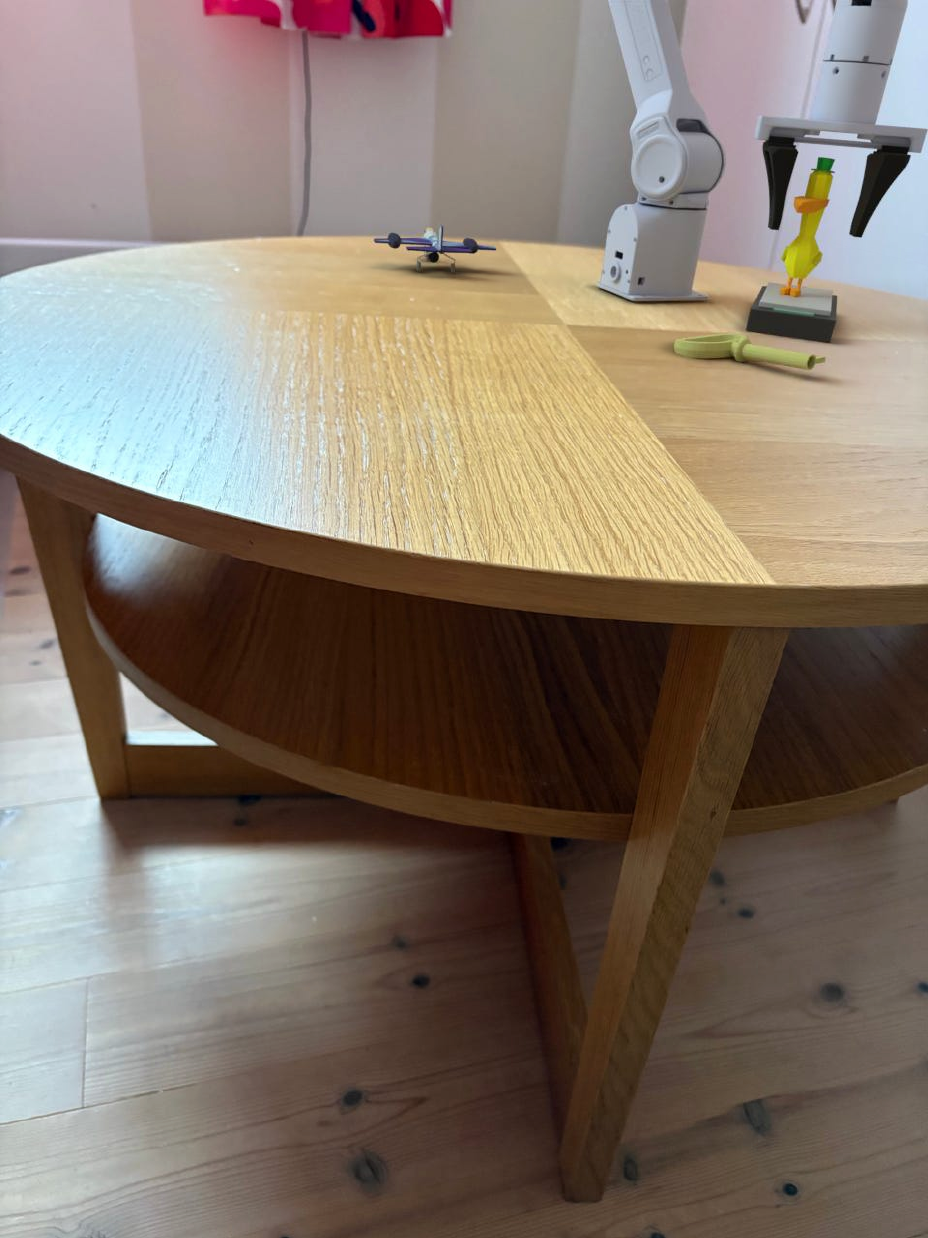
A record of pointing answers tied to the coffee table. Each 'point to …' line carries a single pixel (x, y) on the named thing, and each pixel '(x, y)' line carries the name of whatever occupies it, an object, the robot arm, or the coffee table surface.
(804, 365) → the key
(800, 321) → the scale
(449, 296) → the coffee table surface
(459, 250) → the toy airplane
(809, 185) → the toy figure
